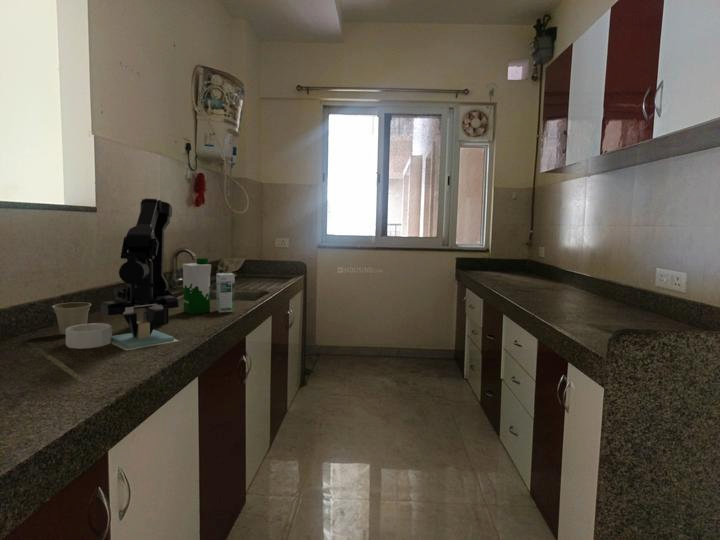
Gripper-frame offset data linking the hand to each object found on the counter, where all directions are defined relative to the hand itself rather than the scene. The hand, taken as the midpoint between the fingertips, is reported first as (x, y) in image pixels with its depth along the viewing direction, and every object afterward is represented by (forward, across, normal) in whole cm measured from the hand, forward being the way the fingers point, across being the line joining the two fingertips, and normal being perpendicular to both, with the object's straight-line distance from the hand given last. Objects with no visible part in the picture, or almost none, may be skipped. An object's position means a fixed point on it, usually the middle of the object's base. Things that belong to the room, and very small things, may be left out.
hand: (141, 335), depth 122 cm
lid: (+1, 0, 0) cm, 1 cm away
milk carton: (+2, -33, -30) cm, 45 cm away
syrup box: (+2, -42, -25) cm, 49 cm away
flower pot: (+2, +10, -22) cm, 24 cm away
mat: (+2, 0, 0) cm, 2 cm away
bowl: (+2, +11, -6) cm, 13 cm away
